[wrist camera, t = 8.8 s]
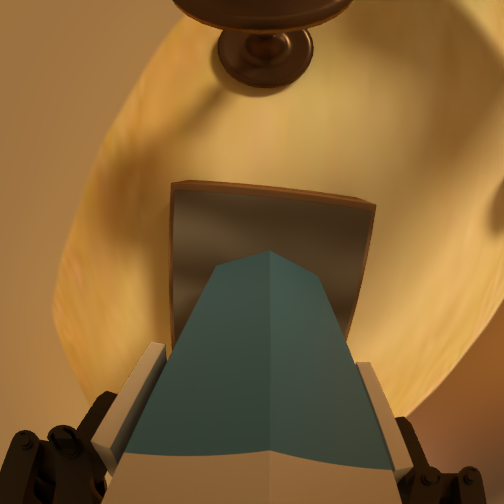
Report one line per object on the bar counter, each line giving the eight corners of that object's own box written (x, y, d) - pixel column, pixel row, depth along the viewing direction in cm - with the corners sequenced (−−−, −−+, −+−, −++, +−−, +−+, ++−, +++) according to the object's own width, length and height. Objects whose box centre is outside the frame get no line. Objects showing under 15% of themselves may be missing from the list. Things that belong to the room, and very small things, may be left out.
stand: (189, 179, 26) (169, 183, 20) (356, 197, 26) (378, 205, 20) (186, 326, 31) (171, 357, 25) (327, 341, 30) (337, 374, 25)
